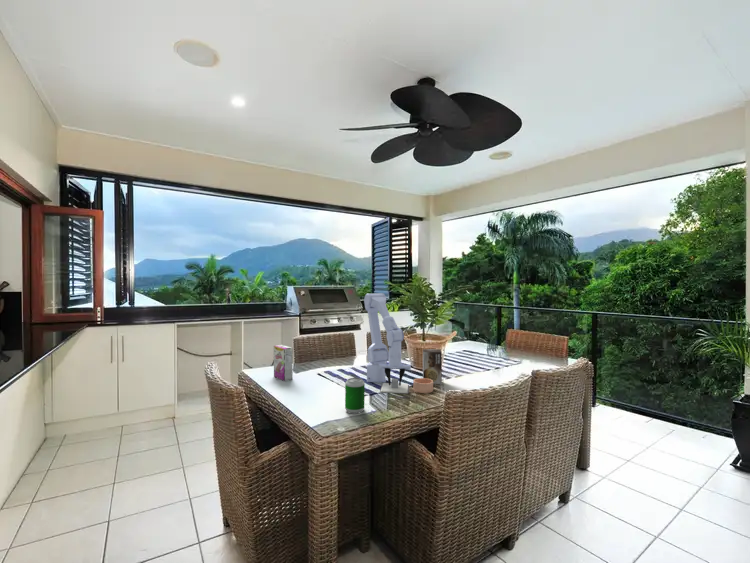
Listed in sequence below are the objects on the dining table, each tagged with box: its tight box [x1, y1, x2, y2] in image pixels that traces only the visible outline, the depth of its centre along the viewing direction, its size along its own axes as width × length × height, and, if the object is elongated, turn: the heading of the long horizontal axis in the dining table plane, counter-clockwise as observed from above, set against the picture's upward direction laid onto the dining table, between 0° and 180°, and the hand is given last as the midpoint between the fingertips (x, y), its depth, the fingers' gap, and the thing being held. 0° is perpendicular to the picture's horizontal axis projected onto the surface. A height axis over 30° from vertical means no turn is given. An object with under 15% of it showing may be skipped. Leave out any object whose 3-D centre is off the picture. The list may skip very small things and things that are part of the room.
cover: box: [380, 378, 409, 394], centre depth 163 cm, size 12×12×4 cm
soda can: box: [344, 377, 366, 414], centre depth 136 cm, size 8×8×12 cm
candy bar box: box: [273, 344, 294, 382], centre depth 180 cm, size 11×5×16 cm, turn 44°
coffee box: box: [422, 348, 443, 386], centre depth 173 cm, size 9×6×16 cm
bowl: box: [412, 377, 434, 394], centre depth 161 cm, size 9×9×4 cm
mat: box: [378, 383, 410, 394], centre depth 163 cm, size 13×13×1 cm
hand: (394, 384), depth 163 cm, fingers open, 4 cm apart
